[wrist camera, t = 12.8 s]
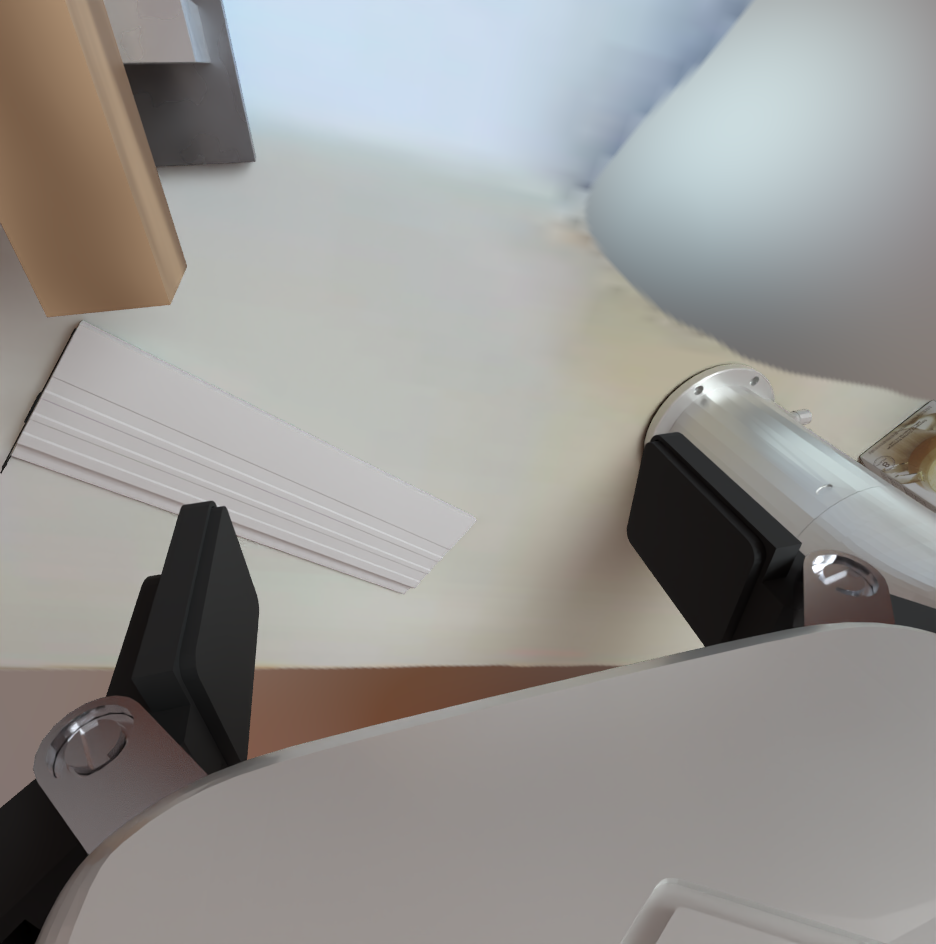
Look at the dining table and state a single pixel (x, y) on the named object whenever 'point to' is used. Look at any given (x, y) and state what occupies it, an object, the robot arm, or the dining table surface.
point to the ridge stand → (183, 79)
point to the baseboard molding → (230, 464)
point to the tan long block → (79, 165)
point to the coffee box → (909, 457)
